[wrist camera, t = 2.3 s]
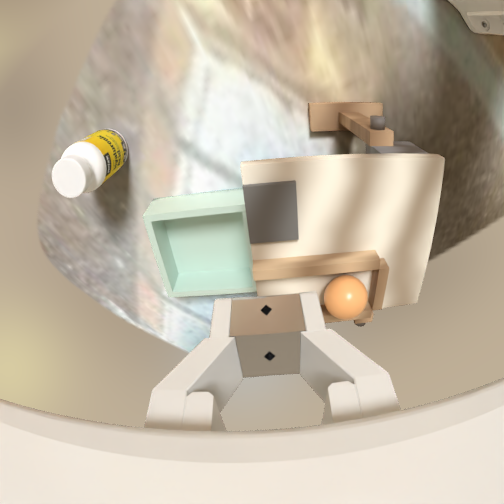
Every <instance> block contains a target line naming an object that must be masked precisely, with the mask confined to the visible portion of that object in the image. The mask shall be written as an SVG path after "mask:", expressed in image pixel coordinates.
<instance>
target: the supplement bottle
mask: <svg viewBox="0 0 504 504" xmlns="http://www.w3.org/2000/svg"><path fill="white" fill-rule="evenodd" d="M127 155H128V147H127V143H126V141H125V139H124V137H123V136H122V135H121V134H120V133H119V132H117V131H115V130H113V129H102V130H99V131H97V132H95V133H93V134H91V135H89V136H87V137H85V138H83V139H81V140H80V141H78V142H76V143H74V144H73V145H71V146H70V147H68V148H67V149H66V150H65V152H64V153H63V155H62V158H61V159H60V160H59V161H58V162H57V163H56V164H55V166H54V168H53V171H52V181H53V184H54V186H55V188H56V190H57V191H58V192H59V193H60V194H61V195H63V196H65V197H68V198H75V197H78V196H79V195H81V194H82V193H89V192H92V191H94V190H95V189H97V188H98V187H99V186H101V185H102V184H103V183H104V182H105V181H106V180H107V179H108V178H109V177H111V176H112V175H113V174H114V173H115V172H116V171H118V170H119V169H120V168H121V167H122V166H123V164H124V163H125V161H126V159H127Z"/></svg>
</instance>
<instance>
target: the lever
mask: <svg viewBox="0 0 504 504" xmlns="http://www.w3.org/2000/svg"><path fill="white" fill-rule="evenodd" d="M444 163H445V158H443V157H442V156H440V155H439V154H429V153H427V152H426V151H424V150H422V149H421V148H419V147H418V146H416V145H415V144H413V143H411V142H406V141H393V146H369V145H368V144H366V154H342V155H320V156H303V157H289V158H276V159H265V160H254V161H244V162H241V166H240V167H241V175H242V182H243V194H244V202H245V209H246V217H247V224H248V232H249V239H250V244H251V251H252V258H253V278H254V281H256V289H257V296H272V295H284V294H294V293H300V292H309V291H316V292H317V294H318V298H319V302H320V306H321V310H322V314H323V318H324V322H325V323H331V322H340V321H349V320H357V319H365V318H371V314H372V310H380V309H382V308H387V307H395V306H402V305H408V304H415V303H417V301H418V297H419V294H420V290H421V287H422V283H423V279H424V275H425V271H426V267H427V263H428V258H429V254H430V249H431V245H432V240H433V235H434V230H435V225H436V219H437V213H438V207H439V201H440V195H441V187H442V180H443V172H444ZM342 275H350V276H354V277H356V278H358V279H359V280H360V281H361V282H362V283H363V284H364V285H365V287H366V290H367V294H368V300H367V304H366V307H365V309H364V310H363V311H362V313H361V314H359V315H358V316H357V317H355V318H352V319H348V320H343V319H338V318H336V317H334V316H333V315H331V314H330V313H329V311H328V310H327V308H326V306H325V303H324V293H325V289H326V287H327V285H328V284H329V283H330V282H331V281H332V280H333V279H335V278H336V277H339V276H342Z"/></svg>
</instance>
